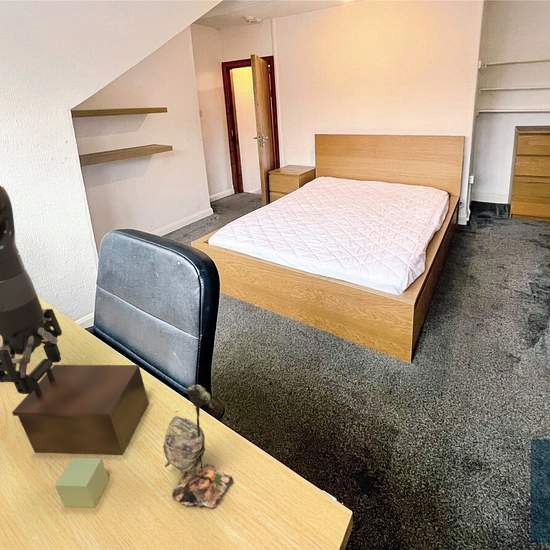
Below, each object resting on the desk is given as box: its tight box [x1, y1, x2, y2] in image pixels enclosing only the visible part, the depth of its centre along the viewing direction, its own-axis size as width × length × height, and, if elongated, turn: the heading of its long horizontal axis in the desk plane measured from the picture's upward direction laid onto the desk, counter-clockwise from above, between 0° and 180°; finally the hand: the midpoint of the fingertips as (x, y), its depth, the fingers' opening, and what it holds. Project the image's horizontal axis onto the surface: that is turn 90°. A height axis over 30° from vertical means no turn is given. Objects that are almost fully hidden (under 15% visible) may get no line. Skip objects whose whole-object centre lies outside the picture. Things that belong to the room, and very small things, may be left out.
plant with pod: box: [162, 384, 234, 510], centre depth 62 cm, size 8×11×20 cm
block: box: [54, 457, 109, 509], centre depth 65 cm, size 5×5×5 cm
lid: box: [11, 358, 141, 417], centre depth 74 cm, size 18×13×5 cm
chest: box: [17, 369, 150, 456], centre depth 77 cm, size 17×13×9 cm
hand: (42, 376), depth 74 cm, fingers open, 8 cm apart
